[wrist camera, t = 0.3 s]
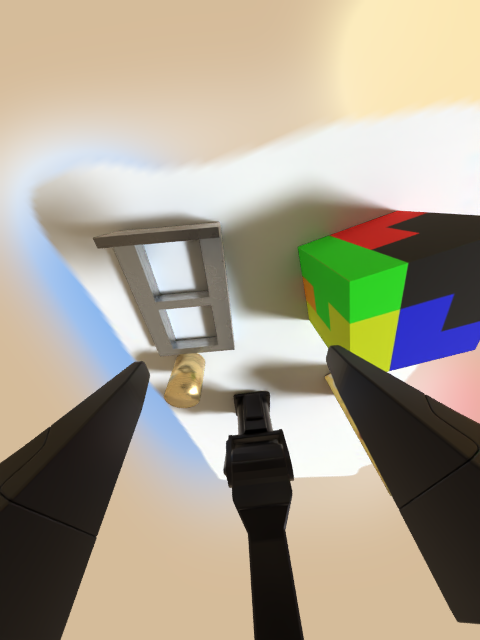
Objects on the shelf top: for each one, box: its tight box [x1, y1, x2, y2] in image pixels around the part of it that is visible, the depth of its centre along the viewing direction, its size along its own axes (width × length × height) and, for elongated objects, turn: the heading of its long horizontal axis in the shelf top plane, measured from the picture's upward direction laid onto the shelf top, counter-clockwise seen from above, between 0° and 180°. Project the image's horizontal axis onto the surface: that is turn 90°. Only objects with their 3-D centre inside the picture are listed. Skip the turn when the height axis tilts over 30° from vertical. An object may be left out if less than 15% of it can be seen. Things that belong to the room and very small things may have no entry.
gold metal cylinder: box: [164, 353, 205, 408], centre depth 25 cm, size 4×4×6 cm
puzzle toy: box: [298, 211, 480, 372], centre depth 17 cm, size 10×10×10 cm
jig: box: [93, 222, 235, 356], centre depth 20 cm, size 15×10×4 cm, turn 4°
